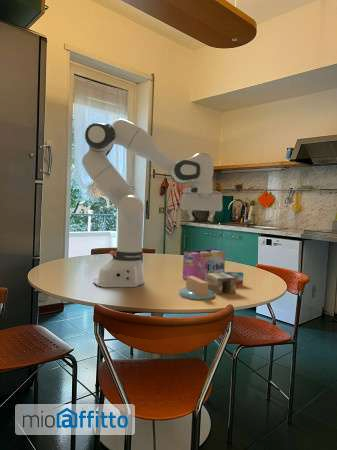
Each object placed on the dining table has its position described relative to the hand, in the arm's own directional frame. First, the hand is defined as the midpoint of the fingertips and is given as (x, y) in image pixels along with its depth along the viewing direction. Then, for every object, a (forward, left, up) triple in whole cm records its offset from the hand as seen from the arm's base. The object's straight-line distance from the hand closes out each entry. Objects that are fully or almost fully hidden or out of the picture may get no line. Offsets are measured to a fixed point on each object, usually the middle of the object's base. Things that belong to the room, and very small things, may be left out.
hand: (201, 220), depth 144 cm
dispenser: (+4, -13, -29) cm, 32 cm away
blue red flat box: (+14, -5, -29) cm, 33 cm away
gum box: (+9, +11, -29) cm, 33 cm away
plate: (-9, -16, -29) cm, 34 cm away
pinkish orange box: (-9, -15, -28) cm, 33 cm away
